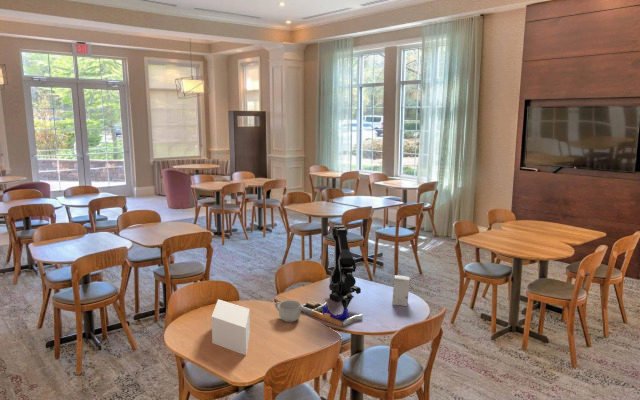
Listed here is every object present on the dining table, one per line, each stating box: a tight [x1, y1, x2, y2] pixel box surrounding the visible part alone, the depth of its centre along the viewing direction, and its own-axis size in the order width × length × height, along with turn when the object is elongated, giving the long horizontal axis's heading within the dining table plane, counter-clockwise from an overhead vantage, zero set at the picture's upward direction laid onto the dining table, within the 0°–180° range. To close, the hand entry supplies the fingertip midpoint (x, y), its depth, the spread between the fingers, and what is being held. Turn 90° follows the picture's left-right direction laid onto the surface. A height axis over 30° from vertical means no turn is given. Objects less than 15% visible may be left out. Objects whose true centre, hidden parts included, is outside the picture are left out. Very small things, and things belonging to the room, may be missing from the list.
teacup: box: [274, 299, 302, 323], centre depth 234 cm, size 14×11×8 cm
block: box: [211, 299, 251, 356], centre depth 212 cm, size 18×35×12 cm, turn 30°
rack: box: [301, 300, 363, 328], centre depth 239 cm, size 14×30×4 cm, turn 48°
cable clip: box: [322, 304, 350, 321], centre depth 235 cm, size 12×4×6 cm, turn 69°
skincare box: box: [392, 274, 411, 307], centre depth 254 cm, size 8×6×15 cm
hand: (344, 309), depth 244 cm, fingers closed
